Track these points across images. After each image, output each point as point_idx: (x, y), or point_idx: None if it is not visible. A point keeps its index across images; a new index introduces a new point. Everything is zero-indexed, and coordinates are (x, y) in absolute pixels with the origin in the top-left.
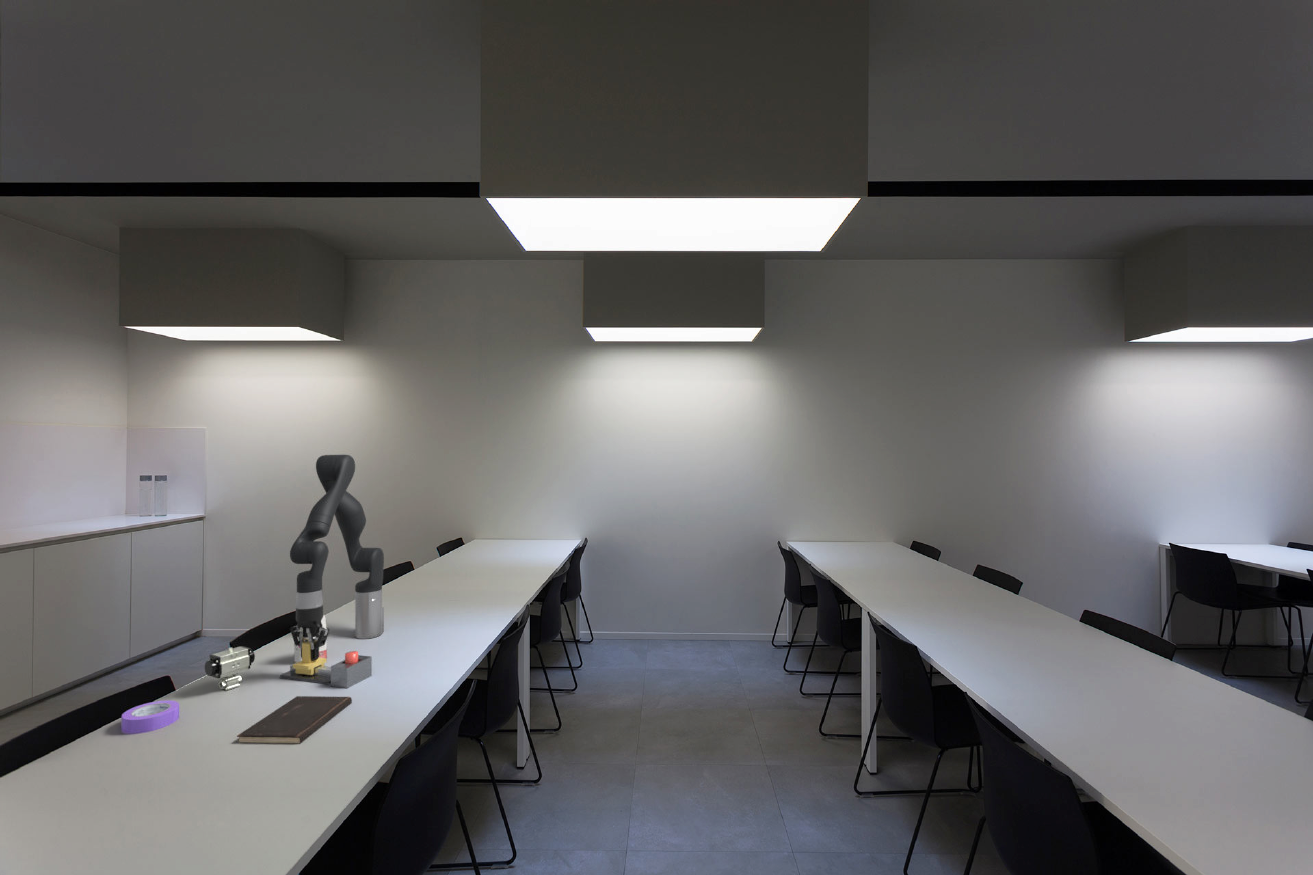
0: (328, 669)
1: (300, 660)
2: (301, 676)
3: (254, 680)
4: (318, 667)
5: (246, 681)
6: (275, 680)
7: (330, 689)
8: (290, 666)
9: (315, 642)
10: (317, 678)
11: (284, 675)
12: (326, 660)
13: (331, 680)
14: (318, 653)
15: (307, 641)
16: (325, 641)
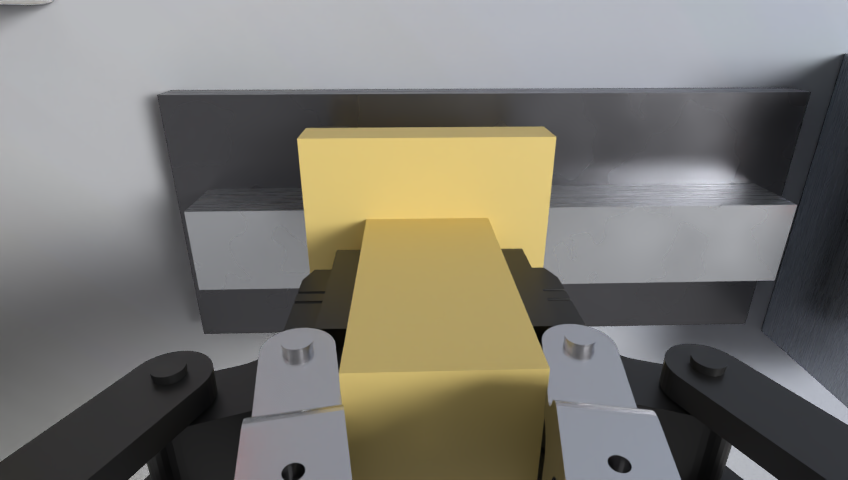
0: (695, 270)
1: (17, 4)
2: None
3: (71, 400)
4: (548, 253)
5: (36, 427)
6: (231, 360)
7: (791, 372)
8: (207, 283)
9: (541, 403)
10: (604, 310)
11: (256, 331)
12: (549, 132)
13: (796, 356)
14: (567, 304)
15: (353, 431)
16: (795, 400)
